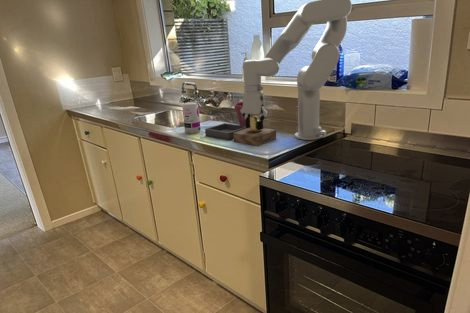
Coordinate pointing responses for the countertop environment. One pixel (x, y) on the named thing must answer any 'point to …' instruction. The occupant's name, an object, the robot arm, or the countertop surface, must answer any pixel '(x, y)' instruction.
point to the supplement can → (191, 117)
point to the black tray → (223, 131)
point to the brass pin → (253, 124)
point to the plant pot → (240, 116)
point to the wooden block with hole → (254, 136)
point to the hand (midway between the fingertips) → (254, 128)
